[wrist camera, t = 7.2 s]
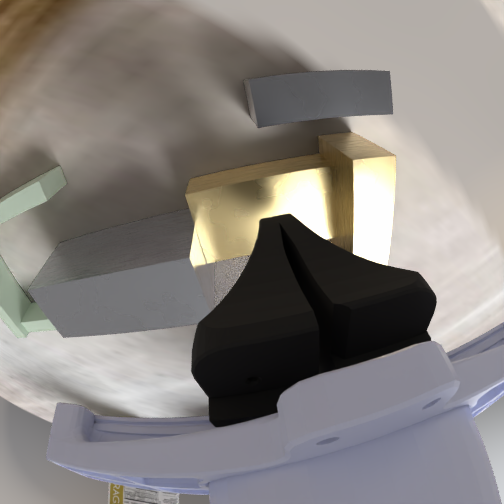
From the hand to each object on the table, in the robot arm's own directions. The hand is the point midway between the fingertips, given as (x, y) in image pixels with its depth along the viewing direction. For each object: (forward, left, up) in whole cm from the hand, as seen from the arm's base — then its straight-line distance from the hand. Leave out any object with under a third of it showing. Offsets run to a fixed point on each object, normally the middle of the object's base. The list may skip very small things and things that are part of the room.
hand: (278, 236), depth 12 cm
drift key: (0, -1, -4) cm, 4 cm away
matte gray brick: (-2, +9, -4) cm, 10 cm away
